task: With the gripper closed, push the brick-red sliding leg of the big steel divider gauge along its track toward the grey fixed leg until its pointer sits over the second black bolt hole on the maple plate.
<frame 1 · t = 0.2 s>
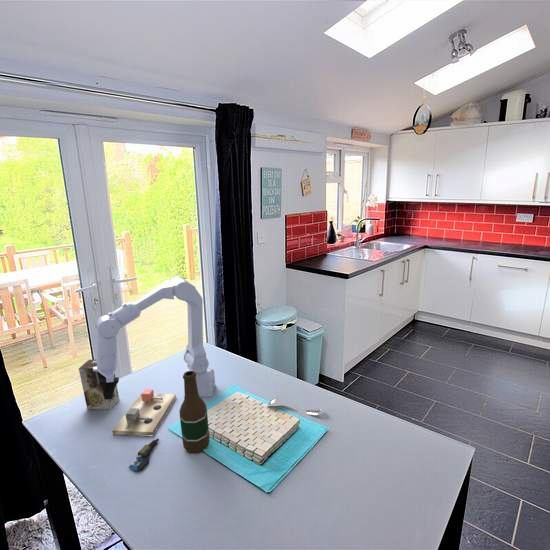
hand: (106, 392, 117), 11 cm above the table, tool pointing down, fingers open, 7 cm apart
gauge plate: (146, 414, 122), on the table
sliding leg: (152, 395, 127), point 3 cm above the table, slide at 0.0 cm
beer bottle: (197, 445, 107), on the table
stirrer: (295, 411, 123), on the table
coffee box: (103, 404, 129), on the table
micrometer: (147, 457, 104), on the table
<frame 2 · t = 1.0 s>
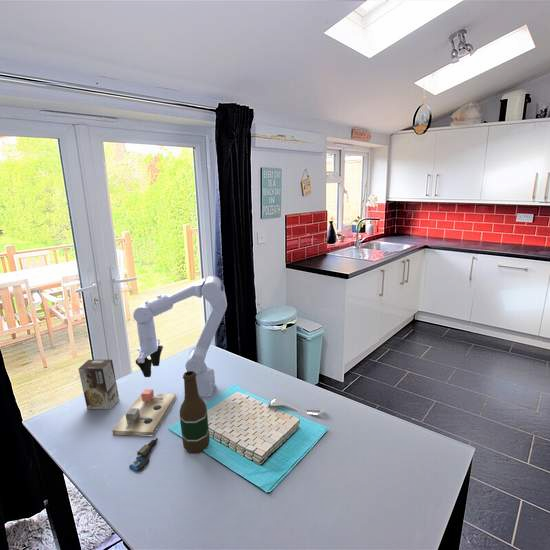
hand: (152, 371, 132), 9 cm above the table, tool pointing down, fingers open, 7 cm apart
nothing on the table moved.
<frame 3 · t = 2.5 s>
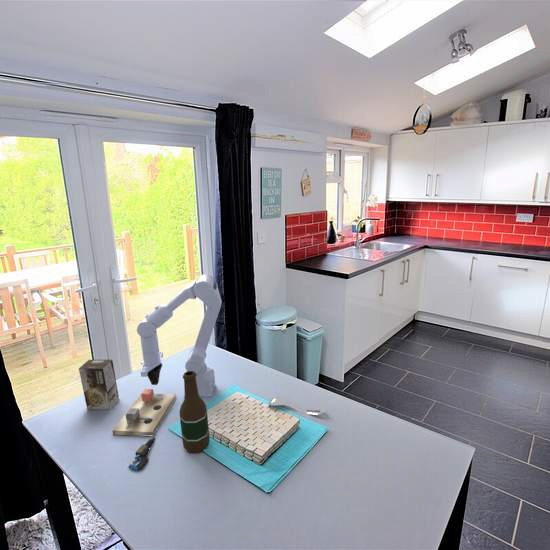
hand: (155, 383, 133), 4 cm above the table, tool pointing down, fingers closed
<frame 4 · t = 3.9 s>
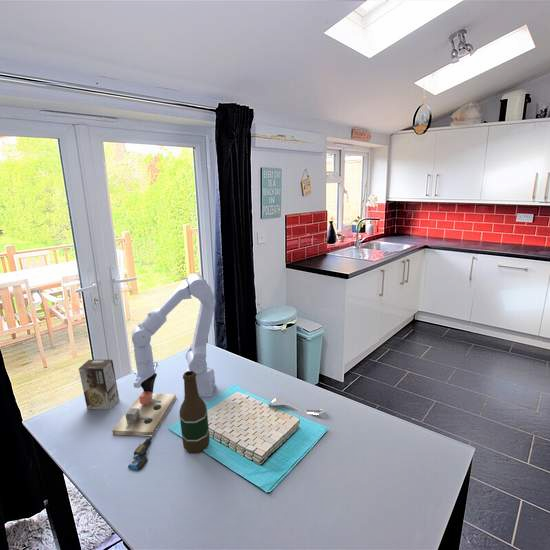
hand: (149, 394, 128), 3 cm above the table, tool pointing down, fingers closed
sliding leg: (151, 398, 125), point 3 cm above the table, slide at 1.6 cm, touching gripper
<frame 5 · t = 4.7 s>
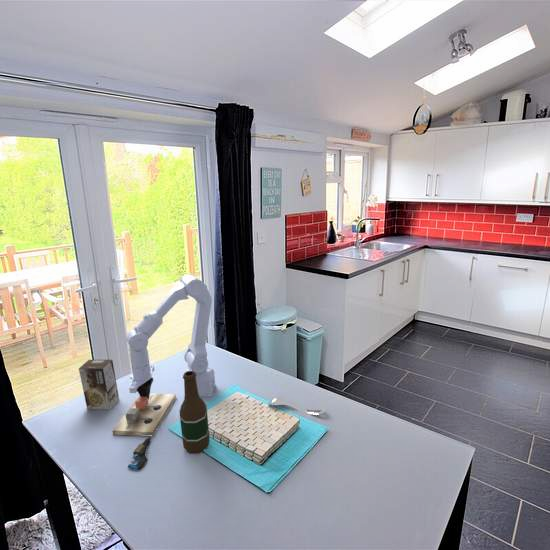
hand: (145, 399, 126), 3 cm above the table, tool pointing down, fingers closed
sliding leg: (147, 403, 123), point 3 cm above the table, slide at 4.5 cm, touching gripper
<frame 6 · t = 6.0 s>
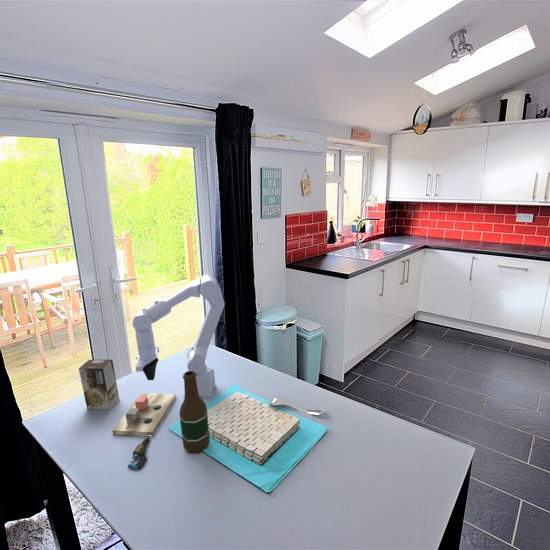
hand: (151, 379, 130), 8 cm above the table, tool pointing down, fingers closed
sliding leg: (147, 403, 123), point 3 cm above the table, slide at 4.5 cm
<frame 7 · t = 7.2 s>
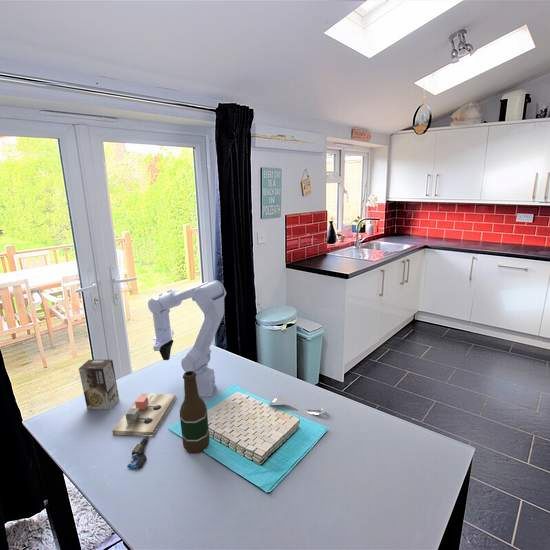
hand: (166, 359, 140), 9 cm above the table, tool pointing down, fingers closed
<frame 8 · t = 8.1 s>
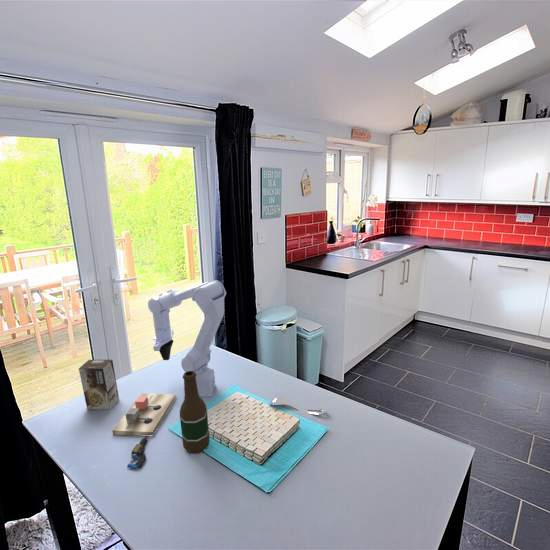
hand: (166, 359, 140), 9 cm above the table, tool pointing down, fingers closed
at the end: sliding leg slide at 4.5 cm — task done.
